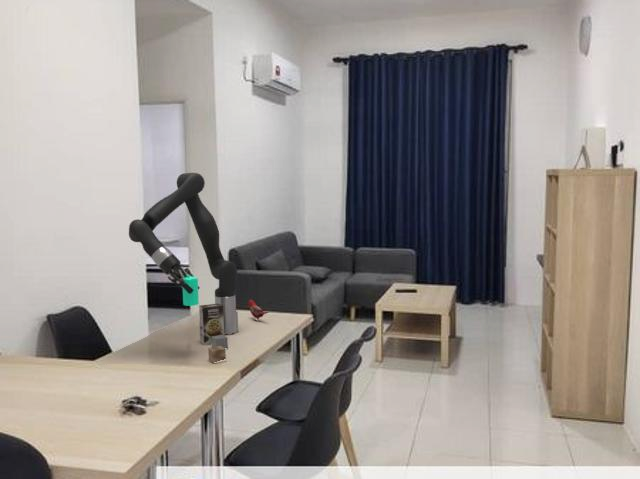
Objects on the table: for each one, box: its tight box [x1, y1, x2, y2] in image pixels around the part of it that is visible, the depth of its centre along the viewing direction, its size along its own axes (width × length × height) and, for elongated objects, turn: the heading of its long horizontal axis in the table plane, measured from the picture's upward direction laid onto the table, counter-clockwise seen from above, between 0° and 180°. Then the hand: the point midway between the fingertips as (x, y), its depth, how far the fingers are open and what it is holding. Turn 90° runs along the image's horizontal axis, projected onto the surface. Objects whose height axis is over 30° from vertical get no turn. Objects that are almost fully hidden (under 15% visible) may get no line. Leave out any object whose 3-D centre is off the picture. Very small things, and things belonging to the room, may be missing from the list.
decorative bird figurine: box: [248, 299, 269, 320], centre depth 280 cm, size 3×18×10 cm, turn 40°
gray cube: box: [211, 335, 229, 349], centre depth 236 cm, size 5×5×5 cm
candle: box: [182, 276, 200, 307], centre depth 225 cm, size 6×6×12 cm
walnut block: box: [207, 346, 227, 364], centre depth 219 cm, size 5×5×5 cm
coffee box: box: [198, 303, 225, 346], centre depth 245 cm, size 9×6×16 cm
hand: (194, 290), depth 225 cm, fingers closed on candle, 4 cm apart
